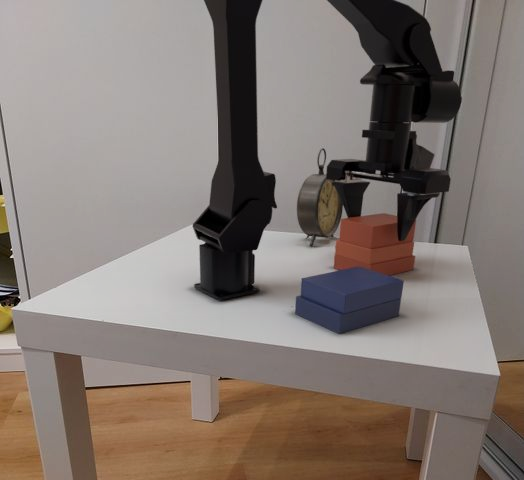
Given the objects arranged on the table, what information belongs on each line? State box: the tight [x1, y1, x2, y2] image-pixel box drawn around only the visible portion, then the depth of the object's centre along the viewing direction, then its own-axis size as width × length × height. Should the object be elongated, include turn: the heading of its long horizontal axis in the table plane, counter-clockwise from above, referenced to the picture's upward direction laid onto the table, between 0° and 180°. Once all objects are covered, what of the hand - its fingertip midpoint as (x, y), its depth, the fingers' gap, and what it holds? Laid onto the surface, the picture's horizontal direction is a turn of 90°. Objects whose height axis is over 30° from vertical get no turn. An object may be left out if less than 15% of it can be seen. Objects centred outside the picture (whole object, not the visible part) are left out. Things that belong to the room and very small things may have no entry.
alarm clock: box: [296, 147, 344, 248], centre depth 94 cm, size 11×5×16 cm, turn 148°
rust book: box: [338, 212, 417, 249], centre depth 79 cm, size 10×6×3 cm
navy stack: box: [294, 266, 405, 335], centre depth 62 cm, size 10×8×4 cm
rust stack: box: [333, 239, 416, 276], centre depth 81 cm, size 10×8×4 cm
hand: (377, 234), depth 80 cm, fingers open, 9 cm apart
